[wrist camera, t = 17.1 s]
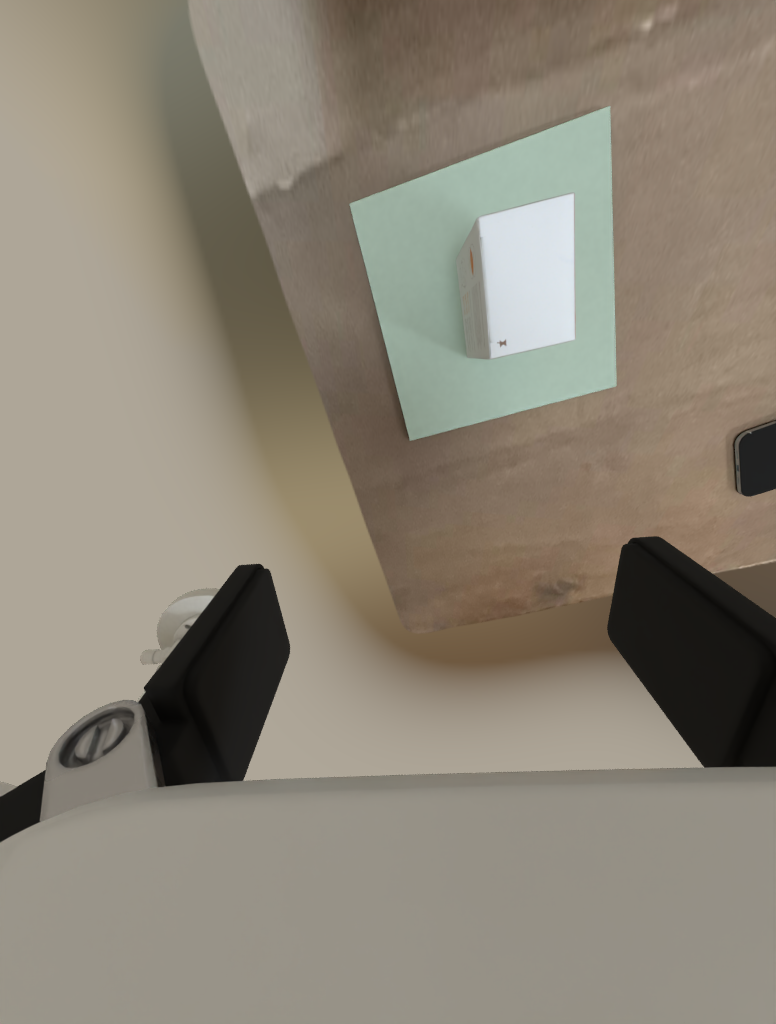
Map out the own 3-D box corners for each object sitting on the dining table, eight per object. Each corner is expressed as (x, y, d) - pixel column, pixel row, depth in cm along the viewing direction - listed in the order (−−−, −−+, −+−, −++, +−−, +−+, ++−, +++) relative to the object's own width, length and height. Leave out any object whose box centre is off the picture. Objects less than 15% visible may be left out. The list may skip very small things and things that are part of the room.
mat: (409, 439, 37) (409, 440, 37) (350, 206, 30) (349, 203, 29) (613, 385, 34) (616, 386, 34) (606, 110, 27) (610, 105, 26)
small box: (527, 345, 33) (578, 343, 23) (465, 358, 33) (489, 362, 24) (522, 239, 30) (578, 187, 20) (454, 257, 30) (477, 214, 21)
